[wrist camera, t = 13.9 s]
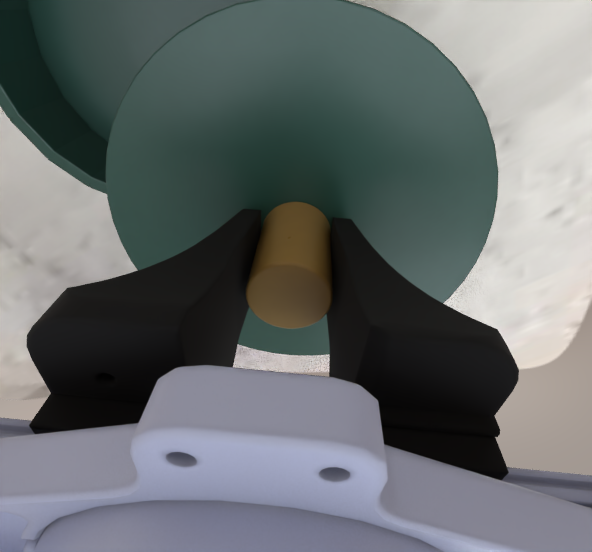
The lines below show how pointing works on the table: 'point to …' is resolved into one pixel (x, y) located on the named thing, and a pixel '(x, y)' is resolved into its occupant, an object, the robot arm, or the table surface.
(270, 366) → the table surface
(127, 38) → the tin
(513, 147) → the table surface
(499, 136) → the table surface
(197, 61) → the tin lid
